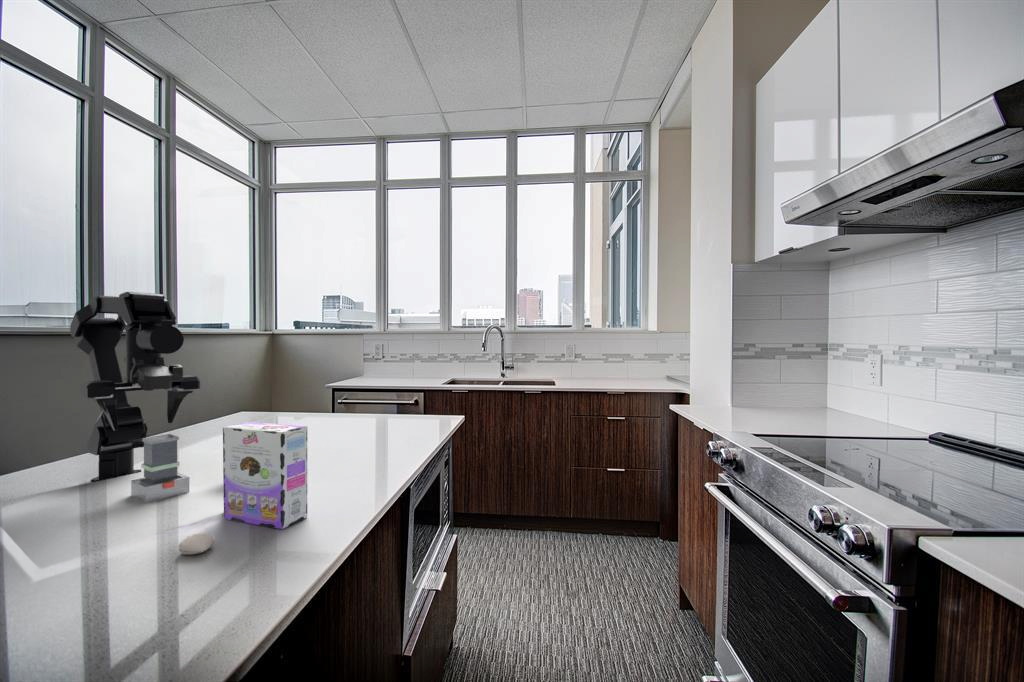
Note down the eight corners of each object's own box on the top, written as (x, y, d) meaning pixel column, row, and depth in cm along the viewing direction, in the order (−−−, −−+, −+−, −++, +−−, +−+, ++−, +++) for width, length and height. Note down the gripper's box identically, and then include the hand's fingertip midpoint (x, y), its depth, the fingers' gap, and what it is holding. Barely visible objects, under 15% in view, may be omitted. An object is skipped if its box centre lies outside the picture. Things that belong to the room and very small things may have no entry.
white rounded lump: (209, 543, 68) (209, 527, 68) (220, 553, 64) (220, 536, 64) (175, 553, 64) (175, 537, 64) (185, 565, 61) (185, 547, 61)
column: (141, 477, 85) (141, 438, 85) (169, 471, 88) (169, 433, 88) (150, 481, 82) (150, 441, 82) (179, 475, 86) (179, 436, 86)
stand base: (109, 502, 83) (109, 481, 83) (183, 484, 94) (183, 466, 94) (133, 516, 77) (133, 494, 77) (209, 495, 87) (209, 475, 87)
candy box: (309, 517, 77) (309, 425, 77) (281, 531, 72) (282, 431, 72) (251, 507, 82) (251, 419, 82) (221, 519, 76) (221, 425, 76)
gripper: (97, 355, 79) (97, 440, 79) (211, 352, 95) (211, 423, 95) (78, 353, 85) (78, 432, 85) (189, 351, 101) (188, 418, 101)
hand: (143, 426), depth 91 cm, fingers open, 9 cm apart
